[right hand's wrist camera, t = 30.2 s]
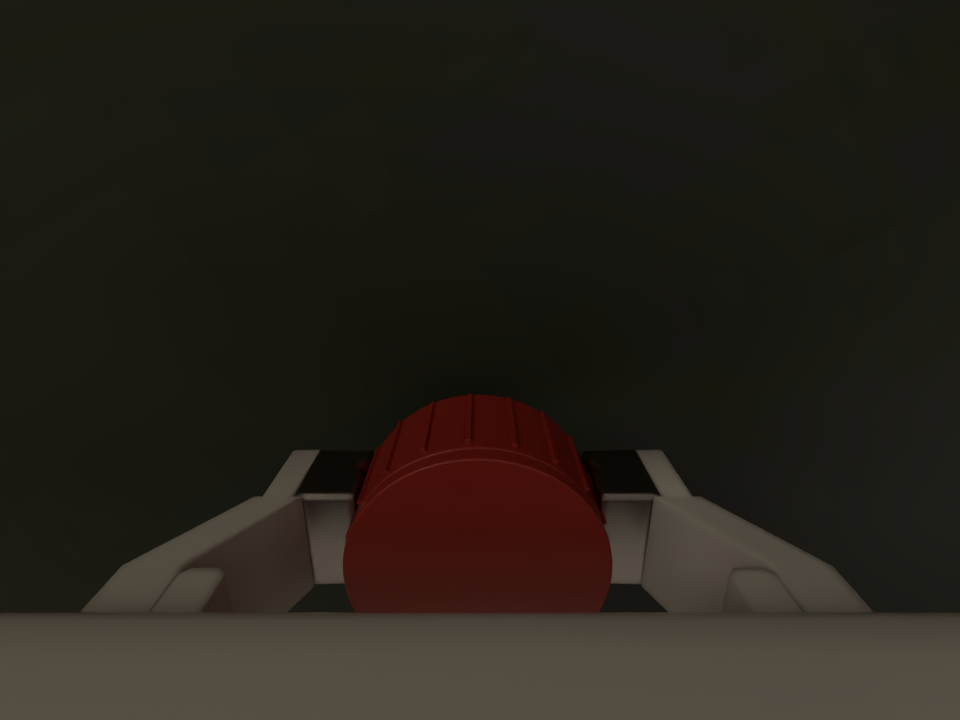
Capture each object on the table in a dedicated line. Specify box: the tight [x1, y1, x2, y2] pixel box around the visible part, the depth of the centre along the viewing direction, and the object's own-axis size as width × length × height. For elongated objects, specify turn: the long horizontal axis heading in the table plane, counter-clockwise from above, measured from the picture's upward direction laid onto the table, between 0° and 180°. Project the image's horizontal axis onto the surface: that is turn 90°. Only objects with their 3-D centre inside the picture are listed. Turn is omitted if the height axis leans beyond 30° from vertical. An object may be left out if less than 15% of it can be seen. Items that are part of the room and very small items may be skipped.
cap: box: [343, 394, 613, 612], centre depth 9 cm, size 4×4×2 cm
